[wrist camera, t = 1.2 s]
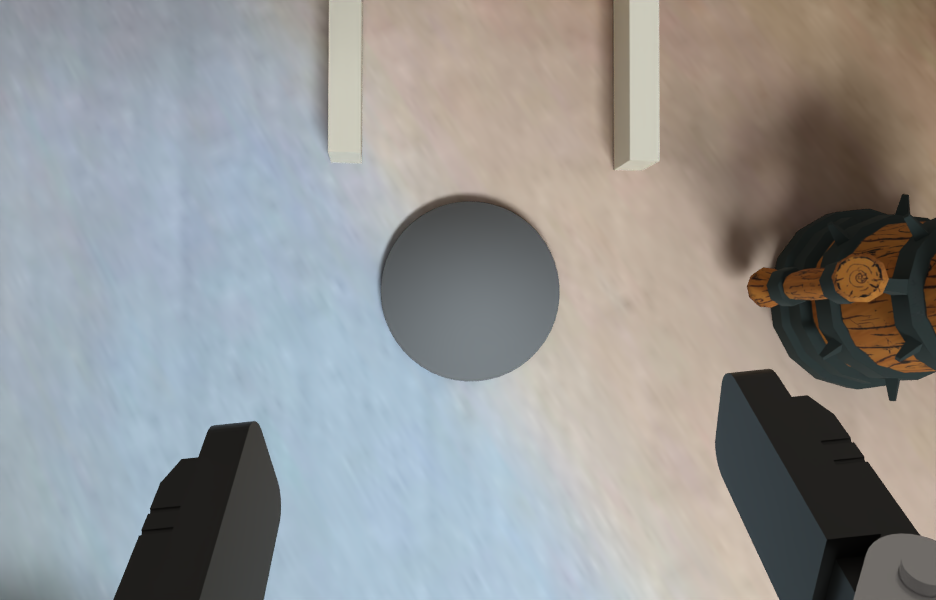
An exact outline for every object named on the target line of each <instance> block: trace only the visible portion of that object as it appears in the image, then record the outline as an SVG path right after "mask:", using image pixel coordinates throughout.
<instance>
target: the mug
mask: <svg viewBox="0 0 936 600" xmlns="http://www.w3.org/2000/svg"><path fill="white" fill-rule="evenodd" d="M747 289H748V293H749V297H750V298H751V299H752V300H753V301H754V302H755V303H756V304H757V305H759V306H760V307H770V308H771V312H772V320H773V327H774V329H775V331H776V333H777V334H778V336H779V338H780V340H781V342H782V344H783V346H784V347H785V349H786V351H787V353H788V355H789V357H790V358H791V359H793V360H794V361H795V362H796V363H797V364H799V365H800V366H801V367H802V368H803V369H805V370H806V371H807V372H808V373H809V374H811V375H812V376H813V377H814V378H816V379H819V380H822V381H826V382H829V383H833V384H836V385H839V386H843V387H846V388H852V389H864V388H871V387H878V386H885V385H886V387H887V392H888V396H889V401H896V398H897V393H898V388H899V383H900V380H918V379H921V378H923V377H925V376H928V375H930V374H932V373H935V372H936V218H934V219H932V220H930V219H928V218H921V217H913V216H912V215H910V208H909V195H907V194H902V197H901V199H900V202H899V205H898V208H897V211H896V213H895V215H887V214H884V213H881V212H878V211H875V210H872V209H861V210H852V211H843V212H835V213H831V214H826V215H824V216H823V217H821V218H819V219H818V220H816V221H814V222H812V223H811V224H809V225H807V226H806V227H804V228H802V229H800V230H799V231H798V232H797V233H796V234H795V236H794V237H793V238H792V240H791V241H790V242H789V244H788V245H787V246H786V248H785V249H784V250H783V252H782V253H781V254H780V256H779V257H778V259H777V263H776V267H775V269H772V268H762V269H760V270H759V271H757V272H756V273H754V274H753V275H752V276H751V277H750V279H749V282H748V285H747Z"/></svg>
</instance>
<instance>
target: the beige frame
mask: <svg viewBox="0 0 936 600" xmlns="http://www.w3.org/2000/svg"><path fill="white" fill-rule="evenodd" d="M613 16H614V170H630V171H642V170H644V169H646V168H648V167H650V166H651V165H653V164H655V163H657V162H659V161H660V139H659V0H613ZM362 17H363V0H329V79H328V153H329V157H330V160H331V163H362Z"/></svg>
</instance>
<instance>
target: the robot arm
mask: <svg viewBox="0 0 936 600" xmlns="http://www.w3.org/2000/svg"><path fill="white" fill-rule="evenodd" d="M715 448H716V457H717V462H718V466H719V470H720V473H721V475H722V478H723V480H724V482H725V484H726V486H727V488H728V491H729V493H730V495H731V497H732V499H733V501H734V503H735V506H736V508H737V510H738V512H739V514H740V516H741V518H742V521H743V523H744V525H745V527H746V529H747V531H748V533H749V536H750V538H751V540H752V542H753V544H754V546H755V548H756V551H757V553H758V555H759V557H760V559H761V561H762V563H763V565H764V568H765V570H766V572H767V574H768V576H769V578H770V580H771V583H772V585H773V587H774V589H775V591H776V593H777V595H778V598H779V600H936V541H935V540H933V539H930V538H927V537H923V536H921V535H920V534H919V533H918V532H917V530H916V529H915V528H914V526H913V525H912V523H911V522H910V521H909V519H908V518H907V516H906V515H905V513H904V512H903V511H902V509H901V508H900V506H899V505H898V504H897V502H896V501H895V499H894V498H893V497H892V495H891V494H890V492H889V491H888V490H887V488H886V487H885V485H884V484H883V483H882V481H881V480H880V478H879V477H878V475H877V474H876V473H875V471H874V470H873V468H872V467H871V466H870V464H869V463H868V462H865V460H864V456H863V454H862V453H861V452H860V450H859V449H858V447H857V446H856V445H855V443H854V442H853V443H852V442H851V437H850V436H849V435H848V433H847V432H846V430H845V429H844V428H843V426H842V425H841V423H840V422H839V421H838V419H837V418H836V416H835V415H834V414H833V413H831V412H830V411H829V410H827V409H826V408H824V407H823V406H822V405H820V404H819V403H817V402H816V401H815V400H813V399H812V398H810V397H809V396H808V395H807V396H797V397H791V395H790V394H789V392H788V391H787V389H786V388H785V386H784V385H783V383H782V382H781V380H780V379H779V377H778V376H777V374H776V373H775V372H774V371H773V370H771V369H764V370H754V371H744V372H735V373H727V374H725V375H724V377H723V380H722V386H721V395H720V404H719V412H718V421H717V430H716V439H715ZM280 515H281V498H280V489H279V485H278V481H277V478H276V475H275V472H274V468H273V465H272V462H271V459H270V456H269V452H268V449H267V446H266V443H265V440H264V437H263V433H262V430H261V428H260V426H259V424H258V423H257V422H256V421H252V422H242V423H233V424H223V425H214V426H211V427H210V428H209V430H208V432H207V435H206V437H205V440H204V443H203V446H202V449H201V451H200V454H199V457H198V458H188V459H181V460H180V462H179V463H178V464H177V465H176V466H175V467H174V468H173V469H172V471H171V472H170V473H169V474H168V475H167V476H166V477H165V478H164V480H163V481H162V482H161V483H160V485H159V488H158V490H157V493H156V495H155V498H154V500H153V503H152V505H151V508H150V514H148V515H147V518H146V520H145V523H144V525H143V528H142V535H141V536H139V537H138V540H137V542H136V545H135V547H134V550H133V552H132V555H131V557H130V560H129V562H128V565H127V567H126V570H125V572H124V575H123V577H122V580H121V582H120V585H119V587H118V590H117V592H116V595H115V597H114V600H264V595H265V590H266V585H267V581H268V576H269V571H270V566H271V561H272V556H273V551H274V547H275V542H276V537H277V532H278V527H279V522H280Z"/></svg>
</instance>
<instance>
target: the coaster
mask: <svg viewBox="0 0 936 600" xmlns="http://www.w3.org/2000/svg"><path fill="white" fill-rule="evenodd" d="M381 300H382V308H383V312H384V316H385V319H386V322H387V325H388V327H389V329H390V332H391V333H392V335H393V337H394V338H395V340H396V342H397V343H398V344H399V346H400V347H401V348H402V349H403V351H404V352H405V353H406V354H407V355H408V356H409V357H410V358H411V359H412V360H414V361H415V362H416V363H418V364H419V365H420V366H421V367H423V368H425V369H427V370H428V371H430V372H432V373H434V374H437V375H439V376H442V377H445V378H449V379H453V380H460V381H482V380H488V379H492V378H496V377H499V376H502V375H504V374H507V373H509V372H511V371H513V370H515V369H516V368H518V367H520V366H521V365H522V364H524V363H525V362H526V361H527V360H529V359H530V358H531V357H532V356H533V355H534V354H535V353H536V352H537V351H538V350H539V348H540V347H541V346H542V344H543V343H544V342H545V340H546V338H547V337H548V335H549V333H550V331H551V329H552V326H553V324H554V321H555V318H556V314H557V311H558V305H559V279H558V273H557V269H556V265H555V262H554V260H553V257H552V255H551V252H550V250H549V249H548V247H547V245H546V243H545V242H544V240H543V239H542V238H541V236H540V235H539V234H538V232H537V231H536V230H535V229H534V228H533V227H532V226H531V225H530V224H528V223H527V222H526V221H525V220H523V219H522V218H521V217H519V216H518V215H516V214H514V213H513V212H511V211H509V210H506V209H504V208H502V207H499V206H496V205H492V204H489V203H482V202H457V203H452V204H448V205H444V206H441V207H438V208H436V209H433V210H431V211H429V212H427V213H426V214H424V215H422V216H421V217H419V218H418V219H417V220H415V221H414V222H413V223H412V224H410V225H409V226H408V227H407V228H406V229H405V230H404V231H403V233H402V234H401V235H400V237H399V238H398V239H397V240H396V242H395V244H394V246H393V247H392V249H391V251H390V253H389V255H388V258H387V260H386V263H385V267H384V270H383V275H382V283H381Z"/></svg>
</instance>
